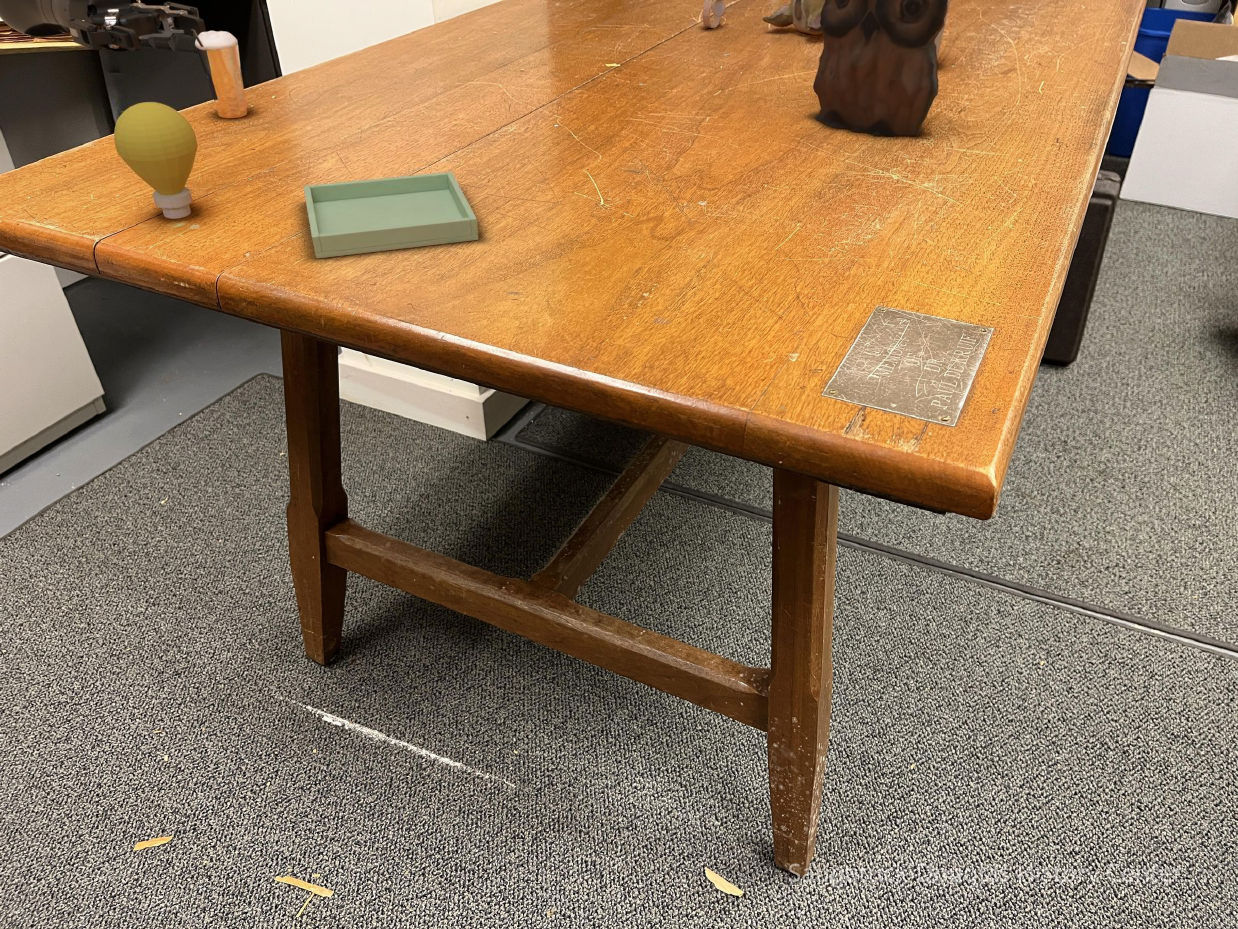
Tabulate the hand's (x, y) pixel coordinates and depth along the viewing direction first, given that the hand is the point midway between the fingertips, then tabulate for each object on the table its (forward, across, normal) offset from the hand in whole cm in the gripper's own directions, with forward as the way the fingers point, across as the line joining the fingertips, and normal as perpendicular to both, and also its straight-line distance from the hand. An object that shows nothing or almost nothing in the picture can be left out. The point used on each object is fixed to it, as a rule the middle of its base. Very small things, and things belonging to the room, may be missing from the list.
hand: (169, 34), depth 108 cm
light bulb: (+31, -20, +8) cm, 38 cm away
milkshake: (+9, 0, +8) cm, 12 cm away
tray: (+48, -9, +8) cm, 49 cm away
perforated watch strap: (+27, +78, +8) cm, 83 cm away
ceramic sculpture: (+42, +87, +8) cm, 97 cm away
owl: (+70, +50, +8) cm, 86 cm away
